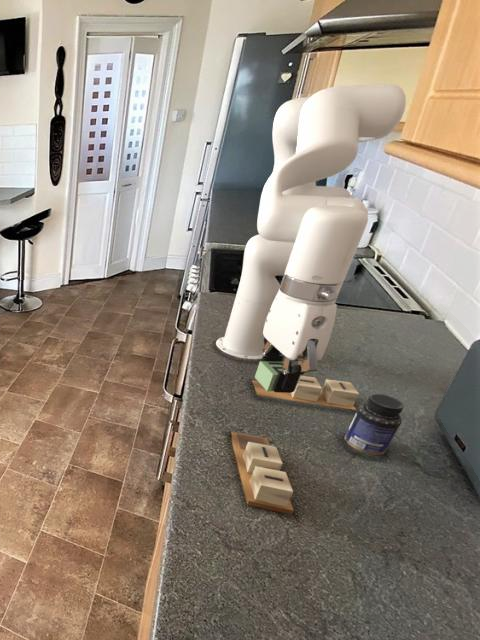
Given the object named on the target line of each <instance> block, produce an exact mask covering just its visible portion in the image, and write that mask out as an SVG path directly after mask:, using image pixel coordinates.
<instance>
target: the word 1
mask: <svg viewBox="0 0 480 640" xmlns="http://www.w3.org/2000/svg"><path fill="white" fill-rule="evenodd" d="M230 432H231V434H229V436H230V441H231V445H232V449H233V453H234V457H235V461H236V466H237V469H238V474H239V477H240V481H241V485H242V489H243V493H244V497H245V501H246V504H247V506H249V507H250V506H251V507H256V508H260V509H264V510H269V511H273V512H277V513H282V514H287V515H290V516H292V515H293V514H294V512H295V511H294V507H293V505H292V501H291V498H292V495H293V494H294V490H293V488H292V484H291V482H290V480H289V477H288V475H287V472H286V471H283V470H281V469H282V466H283V461H282V458H281V455H280V453H279V450H278V447H277V446H273V445H271V443H270V440H269V438H268V437H263V436H259V435H253V434H247V433H243V432H235V431H230Z"/></svg>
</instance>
